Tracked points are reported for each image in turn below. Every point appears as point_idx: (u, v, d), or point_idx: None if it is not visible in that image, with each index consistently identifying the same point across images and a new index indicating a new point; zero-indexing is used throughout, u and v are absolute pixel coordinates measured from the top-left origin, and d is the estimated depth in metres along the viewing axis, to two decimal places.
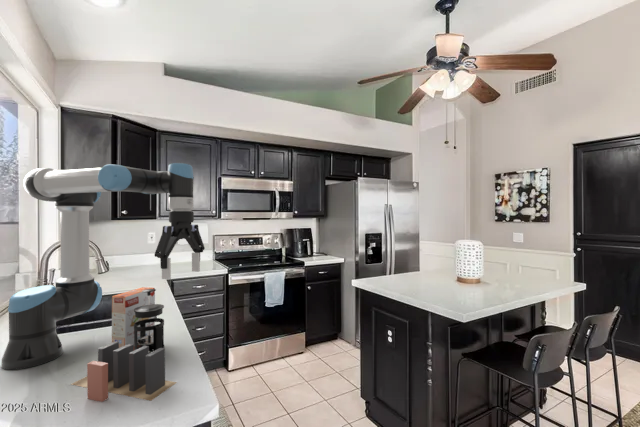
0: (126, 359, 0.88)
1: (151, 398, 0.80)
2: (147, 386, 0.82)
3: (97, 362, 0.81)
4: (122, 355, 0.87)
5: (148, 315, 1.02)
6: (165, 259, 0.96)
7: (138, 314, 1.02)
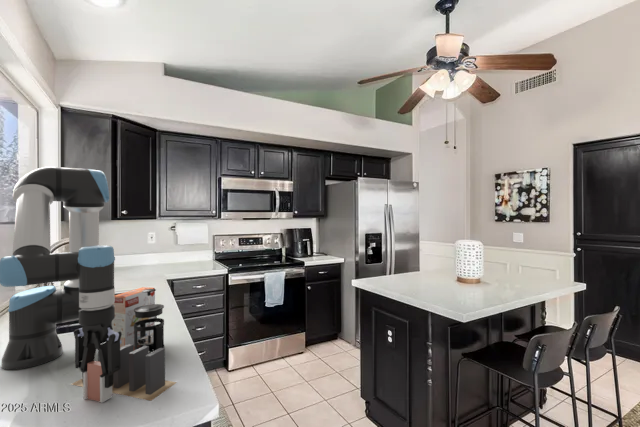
0: (126, 359, 0.88)
1: (151, 398, 0.80)
2: (147, 386, 0.82)
3: (97, 362, 0.81)
4: (122, 355, 0.87)
5: (148, 315, 1.02)
6: None
7: (138, 314, 1.02)
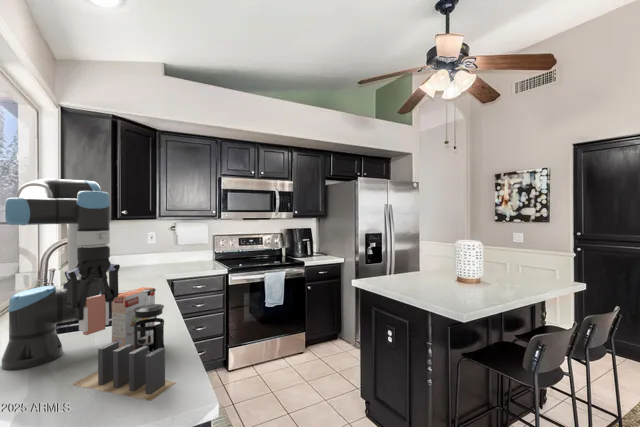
0: (126, 359, 0.88)
1: (151, 398, 0.80)
2: (147, 386, 0.82)
3: None
4: (122, 355, 0.87)
5: (148, 315, 1.02)
6: (82, 309, 0.86)
7: (138, 314, 1.02)
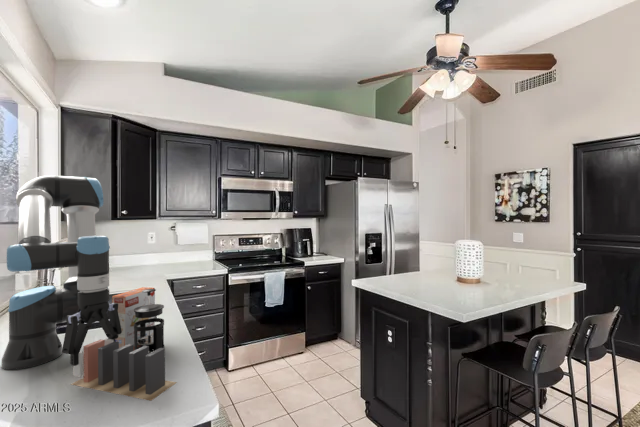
0: (126, 359, 0.88)
1: (151, 398, 0.80)
2: (147, 386, 0.82)
3: (92, 343, 0.91)
4: (122, 355, 0.87)
5: (148, 315, 1.02)
6: (77, 354, 0.86)
7: (138, 314, 1.02)
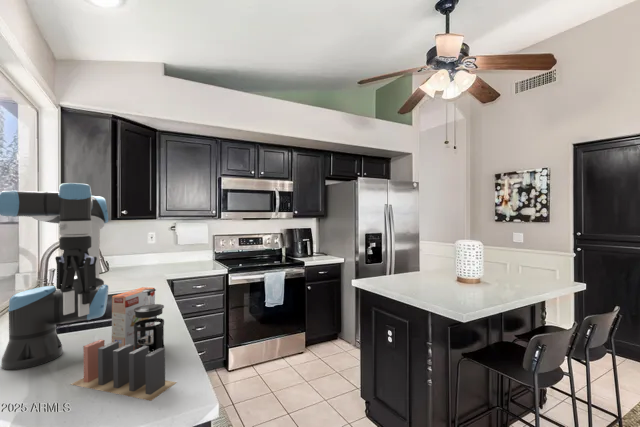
0: (126, 359, 0.88)
1: (151, 398, 0.80)
2: (147, 386, 0.82)
3: (92, 343, 0.91)
4: (122, 355, 0.87)
5: (148, 315, 1.02)
6: None
7: (138, 314, 1.02)
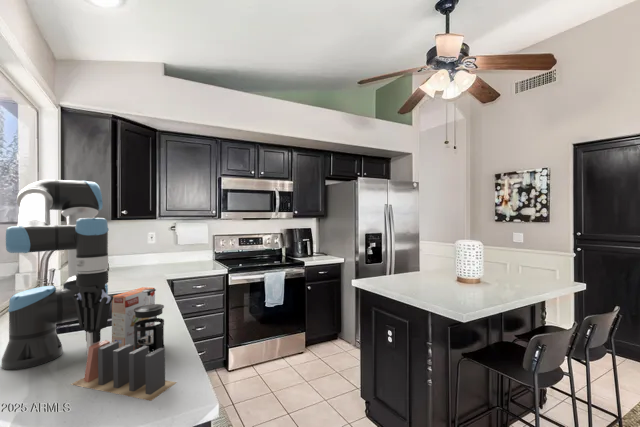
0: (126, 359, 0.88)
1: (151, 398, 0.80)
2: (147, 386, 0.82)
3: (97, 344, 0.90)
4: (122, 355, 0.87)
5: (148, 315, 1.02)
6: None
7: (138, 314, 1.02)
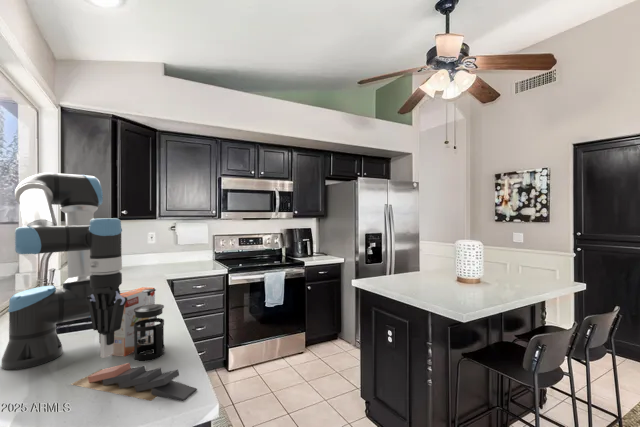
0: None
1: (151, 398, 0.80)
2: (157, 393, 0.81)
3: (120, 369, 0.88)
4: None
5: (148, 315, 1.02)
6: None
7: (138, 314, 1.02)
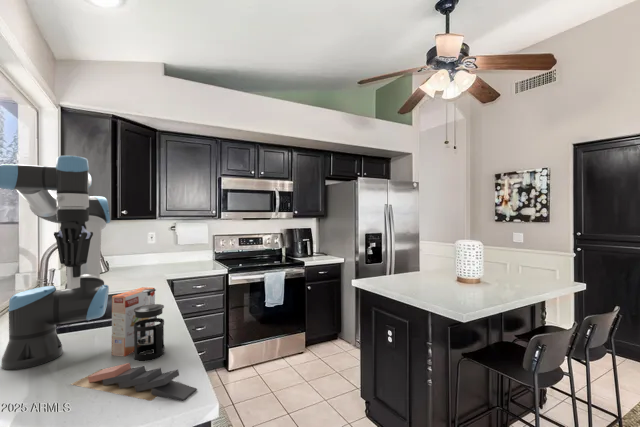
0: None
1: (151, 398, 0.80)
2: (157, 393, 0.81)
3: (120, 369, 0.88)
4: None
5: (148, 315, 1.02)
6: (69, 266, 0.93)
7: (138, 314, 1.02)
